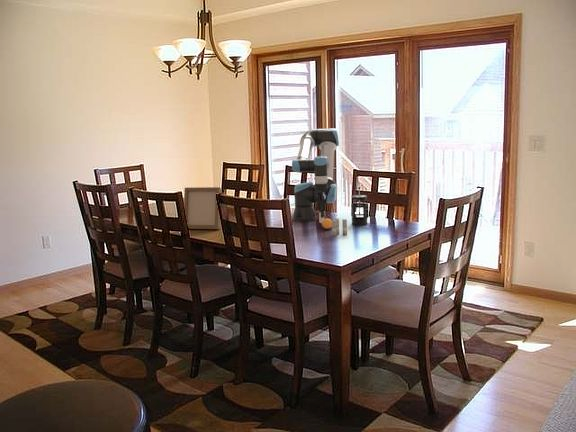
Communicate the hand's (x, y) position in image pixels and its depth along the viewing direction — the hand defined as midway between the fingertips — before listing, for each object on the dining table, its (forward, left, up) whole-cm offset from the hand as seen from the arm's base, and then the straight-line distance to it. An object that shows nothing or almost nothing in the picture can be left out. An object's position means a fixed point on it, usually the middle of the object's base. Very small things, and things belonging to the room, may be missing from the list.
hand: (321, 222), depth 330 cm
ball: (+8, 0, +1) cm, 8 cm away
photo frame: (-27, -66, -3) cm, 71 cm away
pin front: (+23, 0, -2) cm, 23 cm away
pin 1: (+27, -3, -2) cm, 27 cm away
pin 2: (+27, +3, -2) cm, 28 cm away
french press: (+3, +23, -2) cm, 24 cm away
